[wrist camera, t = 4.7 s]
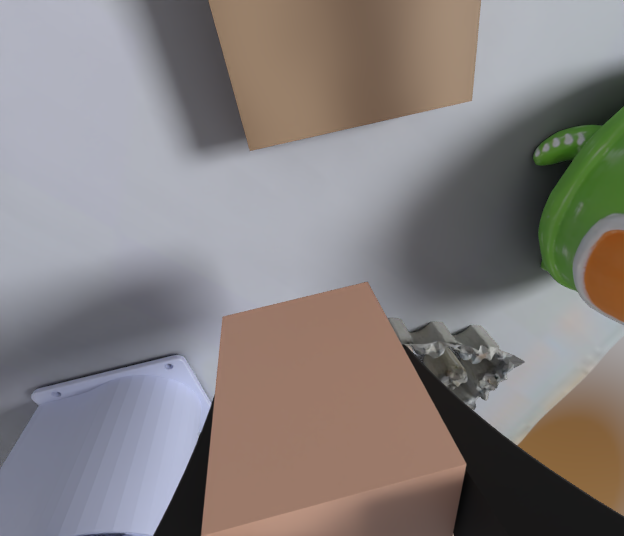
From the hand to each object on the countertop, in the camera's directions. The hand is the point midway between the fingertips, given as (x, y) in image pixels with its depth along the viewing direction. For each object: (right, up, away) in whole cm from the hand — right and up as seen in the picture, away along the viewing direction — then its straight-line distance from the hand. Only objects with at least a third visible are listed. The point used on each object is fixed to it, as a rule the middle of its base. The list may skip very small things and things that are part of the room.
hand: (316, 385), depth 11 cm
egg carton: (+8, -2, +14) cm, 16 cm away
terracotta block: (0, +1, +1) cm, 2 cm away
